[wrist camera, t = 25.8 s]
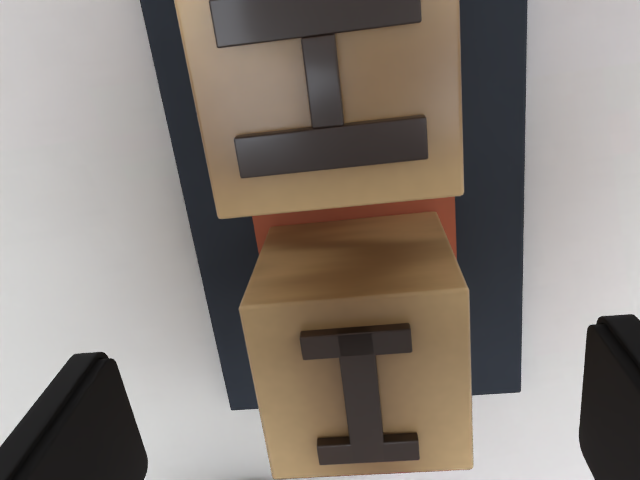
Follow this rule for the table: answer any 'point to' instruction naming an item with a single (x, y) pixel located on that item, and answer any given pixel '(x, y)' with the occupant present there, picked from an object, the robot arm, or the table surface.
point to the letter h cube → (325, 101)
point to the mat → (454, 212)
